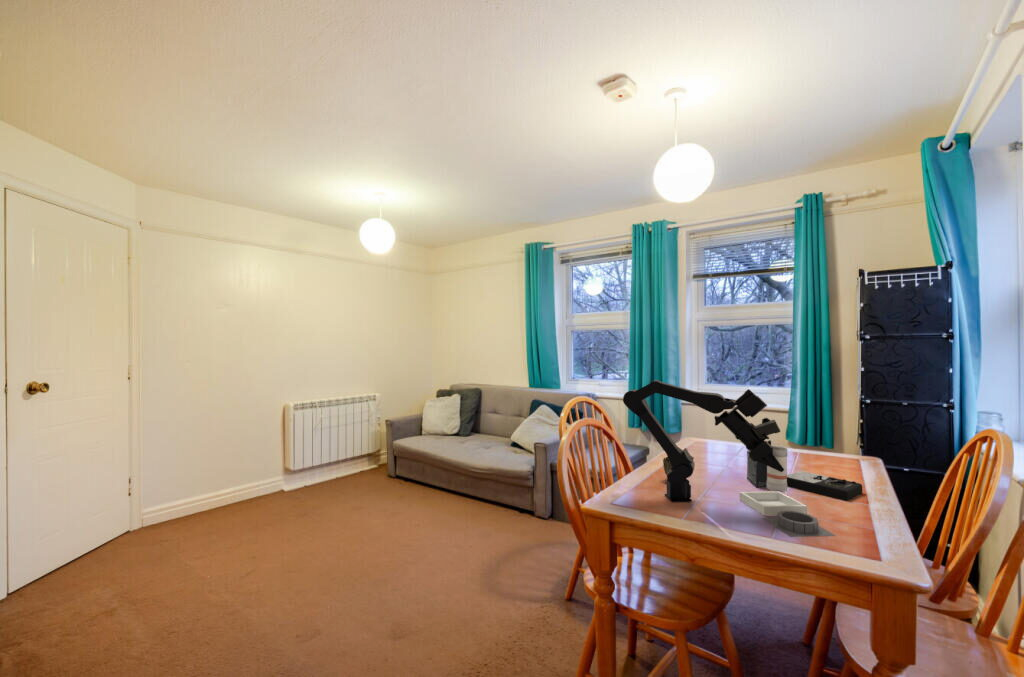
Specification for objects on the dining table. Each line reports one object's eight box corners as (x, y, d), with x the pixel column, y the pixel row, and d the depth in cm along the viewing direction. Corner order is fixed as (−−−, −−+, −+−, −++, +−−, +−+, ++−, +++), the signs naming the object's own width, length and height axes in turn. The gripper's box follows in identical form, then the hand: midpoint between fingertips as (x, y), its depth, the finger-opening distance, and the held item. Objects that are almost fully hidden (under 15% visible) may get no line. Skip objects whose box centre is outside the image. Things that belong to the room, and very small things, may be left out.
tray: (764, 519, 126) (764, 506, 126) (739, 503, 138) (739, 492, 138) (807, 518, 126) (807, 506, 126) (778, 502, 139) (778, 491, 139)
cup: (682, 485, 156) (682, 463, 156) (660, 482, 159) (660, 460, 160) (686, 480, 162) (686, 458, 162) (665, 477, 166) (665, 455, 166)
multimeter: (847, 502, 140) (847, 487, 140) (782, 486, 156) (782, 472, 156) (863, 494, 147) (863, 479, 147) (799, 480, 163) (799, 466, 163)
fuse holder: (790, 540, 112) (790, 526, 112) (762, 521, 124) (761, 509, 124) (836, 539, 113) (836, 525, 113) (803, 520, 125) (803, 508, 125)
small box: (776, 489, 152) (776, 458, 152) (756, 487, 153) (755, 457, 153) (765, 479, 162) (765, 451, 162) (746, 478, 164) (746, 450, 164)
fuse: (778, 492, 127) (778, 450, 127) (762, 487, 131) (762, 446, 132) (791, 490, 129) (791, 449, 129) (774, 485, 133) (775, 445, 133)
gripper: (763, 414, 124) (810, 459, 119) (760, 406, 140) (801, 445, 135) (731, 439, 127) (775, 484, 122) (732, 428, 144) (771, 467, 139)
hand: (782, 468), depth 129 cm, fingers closed on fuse, 5 cm apart
